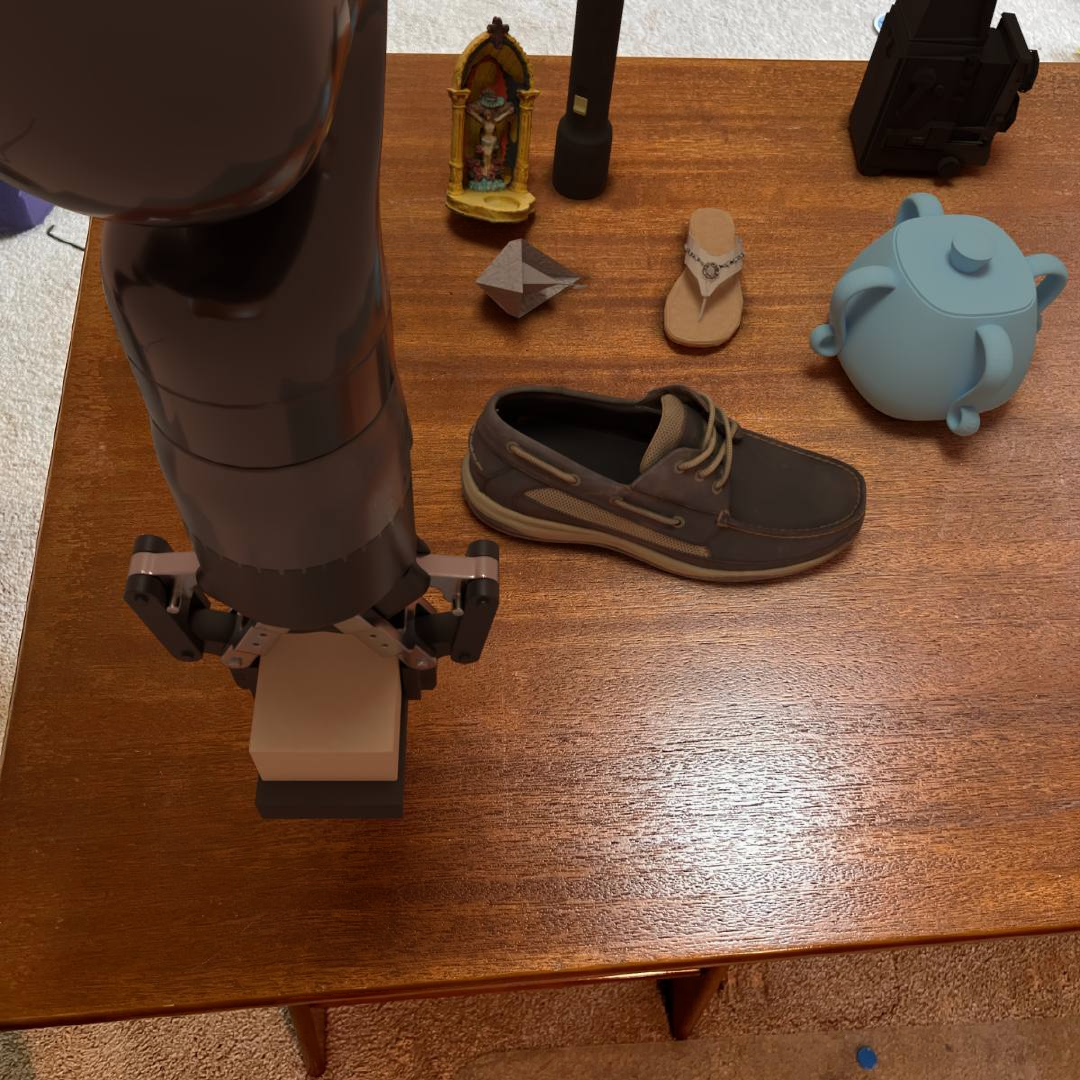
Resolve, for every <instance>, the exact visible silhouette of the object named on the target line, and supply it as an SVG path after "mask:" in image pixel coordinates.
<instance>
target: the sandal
mask: <svg viewBox="0 0 1080 1080" xmlns="http://www.w3.org/2000/svg"><path fill="white" fill-rule="evenodd" d="M685 241H686V242H685V244H684V251H685V254H684V255H685V257H684V262H683V263H684V264H685V266H684V269H683V271H682V272H681V273H680V275H679V276H678V278H677V279H676V281H675V282H674V283H673V285H672V287H671V289H670V291H669V293H668V295H667V297H666V299H665V302H664V303H665V304H664V308H663V330H664V332H665V335H666V336H667V337H668V339H669V340H670V341H672V342H673V343H675V344H679V345H682V346H685V347H691V348H712V347H718V346H720V345H722V344H723V343H725V342H727V341H729V340H730V339H732V337H733V335H734V334H735V333H736V331H737V330H738V328H739V327H740V325H741V320H742V315H743V308H744V298H743V291H742V287H741V280H740V279H741V278H740V271H741V270H742V269H743V268H744V266H743V265H744V262H743V259H744V258H743V257H745V254H746V252H745V250H744V249H743V239H742V237H741V236H740V235H738V234H737V235H736V228H735V223H734V220H733V216H731V214H730V213H729V212H728V211H725V210H724V209H721V208H715V207H699V208H698V209H696V210H694V211H693V212H691V213H690V216H689V218H688V223H687V232H686V240H685Z"/></svg>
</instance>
